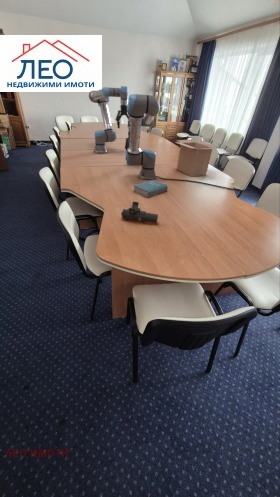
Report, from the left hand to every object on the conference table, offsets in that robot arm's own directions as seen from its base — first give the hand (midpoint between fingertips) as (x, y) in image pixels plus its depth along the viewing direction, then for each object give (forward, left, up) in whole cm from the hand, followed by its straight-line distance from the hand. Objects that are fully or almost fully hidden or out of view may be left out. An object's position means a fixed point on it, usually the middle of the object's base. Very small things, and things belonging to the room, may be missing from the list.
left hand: (123, 128), depth 240 cm
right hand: (+32, +9, -20) cm, 39 cm away
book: (+100, +25, -30) cm, 108 cm away
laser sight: (+149, +14, -30) cm, 153 cm away
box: (+43, +71, -30) cm, 88 cm away
